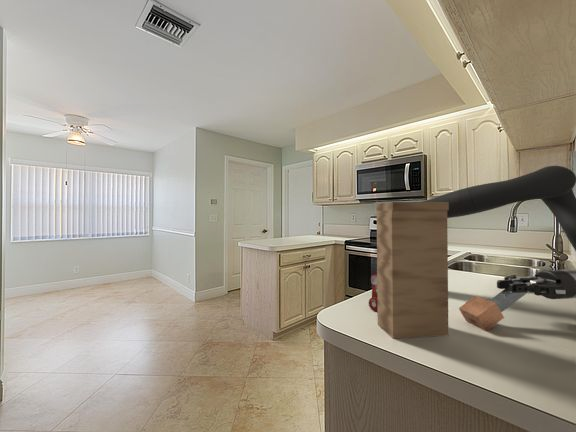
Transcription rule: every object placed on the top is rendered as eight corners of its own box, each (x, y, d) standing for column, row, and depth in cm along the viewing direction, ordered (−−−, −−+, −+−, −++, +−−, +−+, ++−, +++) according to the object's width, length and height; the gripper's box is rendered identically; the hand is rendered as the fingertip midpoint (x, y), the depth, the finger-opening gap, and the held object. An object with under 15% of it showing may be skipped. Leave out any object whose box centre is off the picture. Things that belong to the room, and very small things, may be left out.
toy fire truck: (399, 321, 71) (399, 283, 71) (364, 308, 82) (364, 274, 82) (414, 316, 75) (414, 280, 75) (379, 304, 85) (379, 272, 85)
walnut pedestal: (376, 323, 69) (375, 203, 69) (426, 321, 71) (424, 203, 71) (394, 339, 60) (392, 202, 61) (449, 336, 62) (448, 201, 62)
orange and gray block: (466, 321, 70) (458, 308, 70) (513, 286, 72) (506, 273, 72) (486, 331, 65) (477, 316, 64) (536, 293, 66) (528, 278, 66)
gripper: (534, 265, 77) (481, 267, 75) (595, 275, 63) (531, 278, 61) (535, 290, 77) (481, 292, 75) (595, 306, 63) (532, 310, 61)
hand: (504, 286), depth 68 cm, fingers open, 3 cm apart
